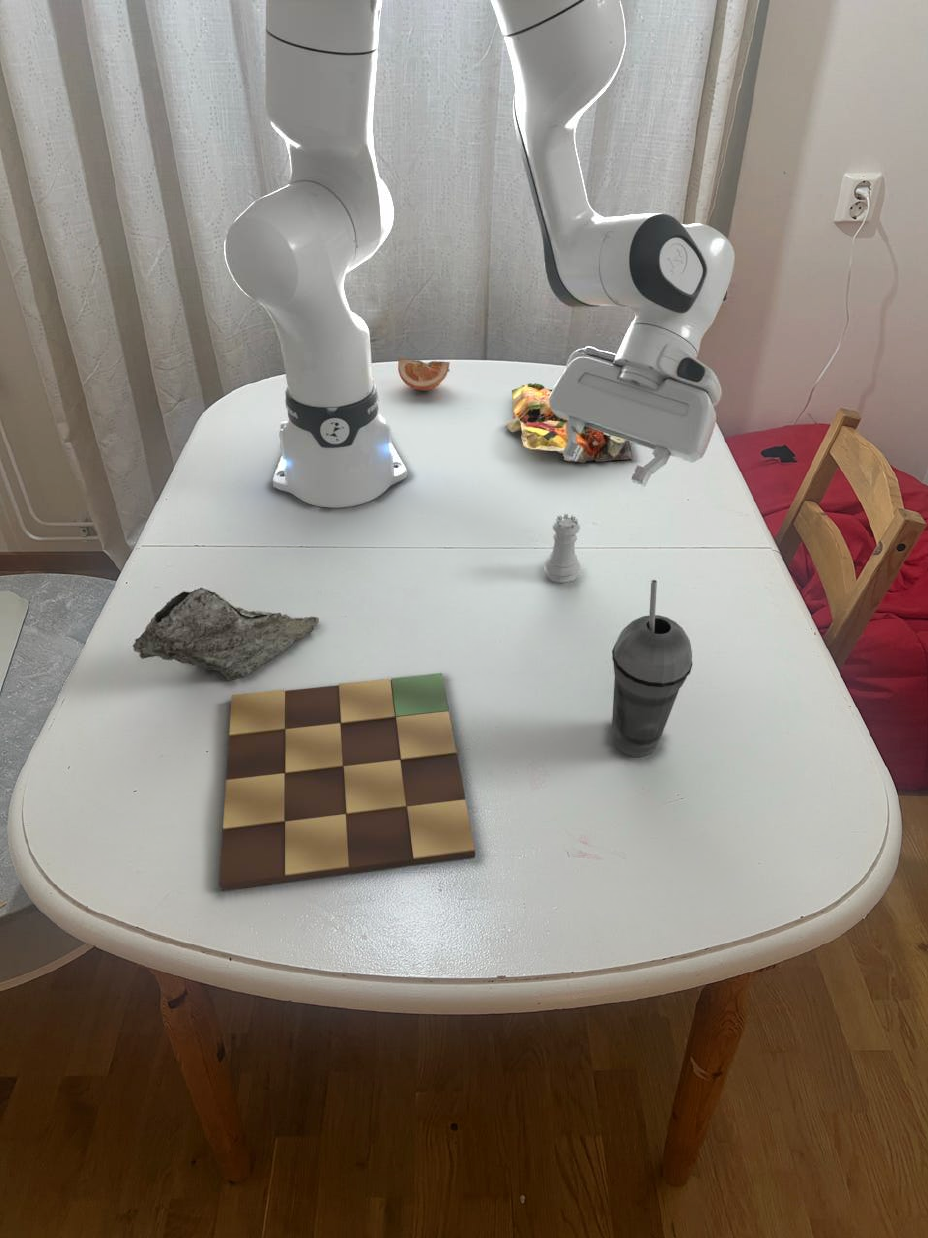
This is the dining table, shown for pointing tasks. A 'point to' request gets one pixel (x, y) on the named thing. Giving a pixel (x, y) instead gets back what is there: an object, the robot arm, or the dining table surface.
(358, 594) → the dining table surface
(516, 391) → the food
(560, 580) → the rook chess piece
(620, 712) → the beverage cup
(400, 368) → the fruit slice
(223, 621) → the concrete fragment
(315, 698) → the board
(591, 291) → the robot arm
